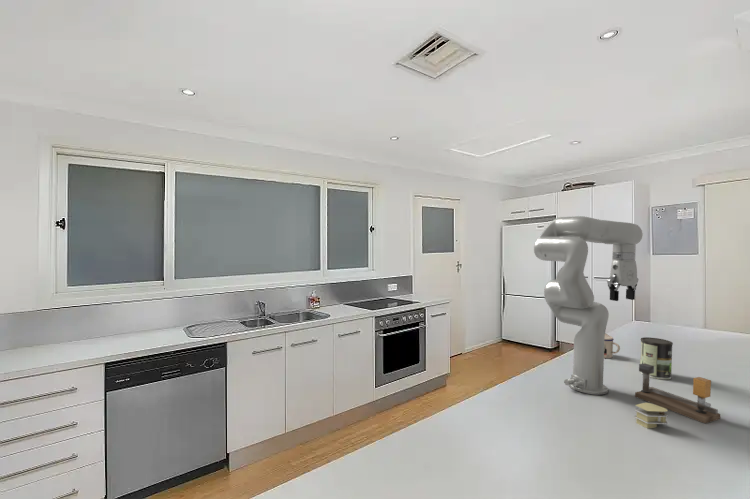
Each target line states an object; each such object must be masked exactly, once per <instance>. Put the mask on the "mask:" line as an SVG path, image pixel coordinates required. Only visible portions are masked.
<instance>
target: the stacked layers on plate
mask: <svg viewBox="0 0 750 499" xmlns="http://www.w3.org/2000/svg"><path fill="white" fill-rule="evenodd" d="M635 407H637V408H635V409H634V411H635V412H636V415H634V419H635V418H636V422H635V423H636V424H637V425H639V426H642V427H644V428H645V429H653V428H657V427H658V425H666V424H668V421H667V417H668V416H669V415H668V414H667V412H668V411H669V409H666V408H663V407H661V406H658V405H656V404H653V403H650V402H642V403H638V404H635Z"/></svg>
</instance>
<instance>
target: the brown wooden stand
mask: <svg viewBox="0 0 750 499" xmlns="http://www.w3.org/2000/svg"><path fill="white" fill-rule="evenodd" d="M638 372H639V373H640V372H643V375H642V388H641V390H640V391H635V392H634V397H635V398H637V397H638V398H637V399H640V400H642V399H643V401H646V402H647V403H651V404H654V405H657V406H660V407H663V408H666V409H667V410H668V411H672V412H674V413H677V414H680V415H683V416H685V417H687V418H690V419H692V420H696V421H697V422H700V423H703V424H709V423H712V422H715V421H718V420H721V413H719V411H718V409H717V408H715V407H712V406H710V407H707V408H705V410H703V411H701V410H699V409H698V408H697V401H695V400H691V399H688V398H685V397H683V396H679V395H677V394H674V393H671V392H668V391H665V390H662V389H660V388H658V387H657V388H656V387H653V386H650V377H649V374H651V373H654V366H652V365H649V364H645V363H644V364H640V363H639V364H638Z"/></svg>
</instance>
